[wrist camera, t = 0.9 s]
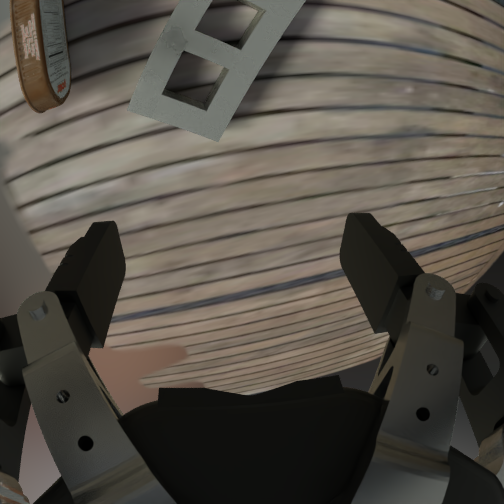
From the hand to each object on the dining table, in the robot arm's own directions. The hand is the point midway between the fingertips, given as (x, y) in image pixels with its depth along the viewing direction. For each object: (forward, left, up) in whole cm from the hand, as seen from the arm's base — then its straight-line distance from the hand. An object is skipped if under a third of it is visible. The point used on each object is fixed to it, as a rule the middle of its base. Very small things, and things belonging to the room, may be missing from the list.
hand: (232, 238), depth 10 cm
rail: (0, +8, -25) cm, 26 cm away
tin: (-16, +1, -25) cm, 30 cm away
